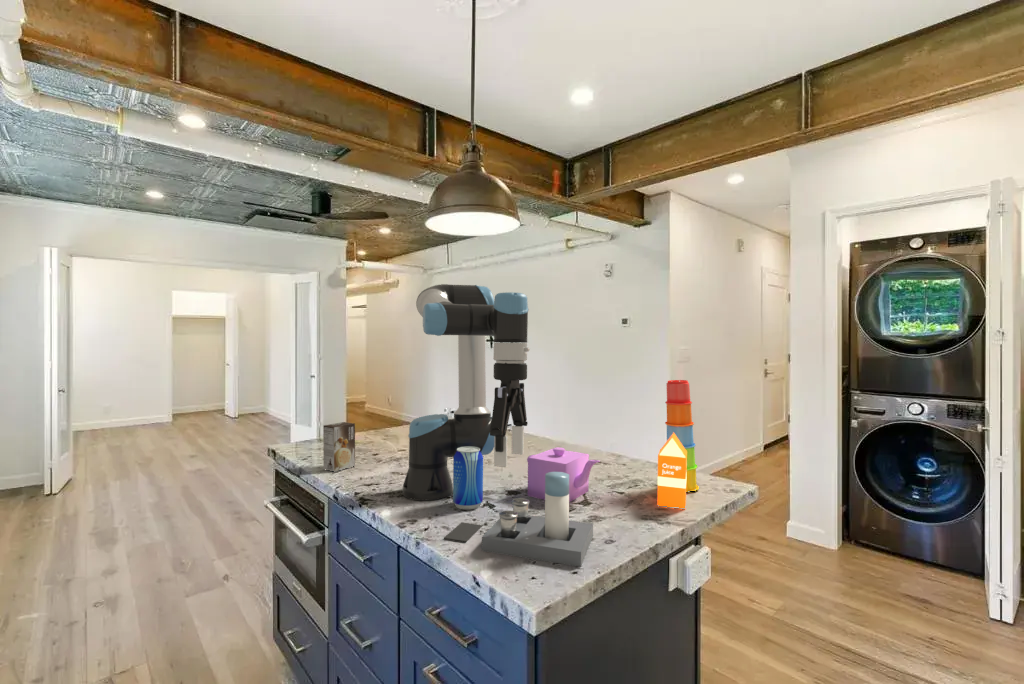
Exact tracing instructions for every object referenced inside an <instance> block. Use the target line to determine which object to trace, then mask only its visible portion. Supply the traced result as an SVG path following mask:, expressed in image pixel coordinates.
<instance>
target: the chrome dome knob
mask: <svg viewBox="0 0 1024 684" xmlns="http://www.w3.org/2000/svg"><path fill="white" fill-rule="evenodd" d="M498 517H499V519H500V518H501V524H500V534H501V535H502V536H505V537H512V536H515V535H516V530H517V517H518V513H517V512H515V511H513V510H502V511H500V512H499V514H498Z"/></svg>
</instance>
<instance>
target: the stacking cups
mask: <svg viewBox="0 0 1024 684" xmlns="http://www.w3.org/2000/svg"><path fill="white" fill-rule="evenodd" d="M665 404H666V421H665V422H664V424H665V425H666V441H667V440H668V439H669V438H670V437H671V435H672V434H673V432H674V434H675V435H676V436H677V438H678V439H679V441H680V442H681V444H682V445H683V447H684V448H685V450H686V451H687V463H686V472H687V475H686V492H688V491H695V492H697V491H699V489H700V488H699V487H700V486H699V485H698V484H697V469H698V464H696V454H695V453H696V452H695V447H696V443H695V442H694V428H693V425H695V422H693V419H692V418H693V417H692V416H693V415H692V404H693V402H692V401H691V390H690V382H689V381H688V380H687V379H686V380H685V379H673V380H672V379H671V380H667V382H666V401H665ZM695 489H696V490H697V491H696V490H695ZM688 493H689V492H688Z"/></svg>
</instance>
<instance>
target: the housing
mask: <svg viewBox="0 0 1024 684" xmlns="http://www.w3.org/2000/svg"><path fill="white" fill-rule="evenodd" d="M500 524H501V518H500V517H499V518H498V519H497V520H496V521H495V523H494V524H492V526H491V527H490V528H488V530H487V531H486V532H485V533H484V534H483V535H482V536H481V552H486V553H487V552H488V553H494V554H500V555H506V556H511V557H517V558H518V557H519V558H522V559H523V558H526V559H528V560H529V559H532V560H535V561H536V560H537V561H541V562H542V561H543V562H548V563H554V564H561V565H568V566H573V567H578V568H579V567H582V566H583V563H584V560H585V557H586V556H587V553H588V550H589V547H590V545H591V542H592V540H593V537H594V523H592V522H591V523H590V522H584V521H576V520H569V541H564V540H557V539H550V538H545V516H537V515H531V514H530V515H529V514H528V520H527V521H525V522H517V530H516V535H515V536H512V537H505V536H502V535H501V534H500Z"/></svg>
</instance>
